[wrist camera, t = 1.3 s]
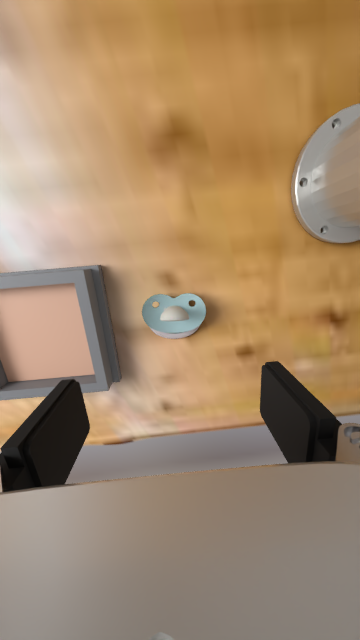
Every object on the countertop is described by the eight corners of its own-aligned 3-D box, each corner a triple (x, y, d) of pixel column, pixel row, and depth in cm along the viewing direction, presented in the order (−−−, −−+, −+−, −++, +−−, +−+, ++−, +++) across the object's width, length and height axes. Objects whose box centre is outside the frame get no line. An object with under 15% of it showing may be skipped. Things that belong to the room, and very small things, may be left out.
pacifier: (202, 335, 28) (203, 290, 26) (211, 359, 22) (212, 303, 20) (147, 337, 28) (143, 292, 26) (140, 362, 22) (134, 305, 20)
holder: (100, 264, 25) (90, 266, 21) (121, 377, 29) (115, 392, 26) (-38, 276, 24) (-69, 279, 21) (3, 388, 29) (-17, 403, 26)
